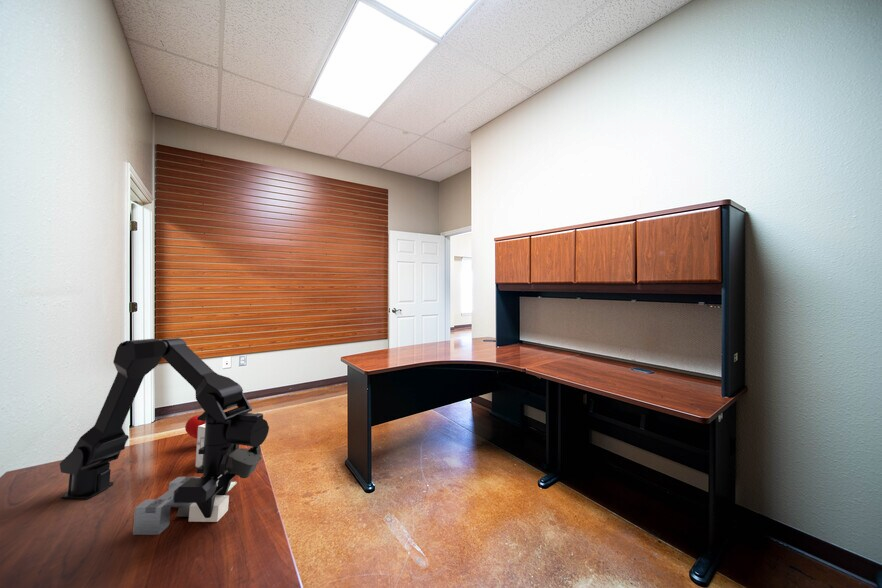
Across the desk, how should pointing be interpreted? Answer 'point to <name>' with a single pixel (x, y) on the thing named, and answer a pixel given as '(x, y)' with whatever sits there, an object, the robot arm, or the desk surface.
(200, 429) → the ink cartridge box
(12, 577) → the desk surface
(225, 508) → the plug
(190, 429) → the red rounded lobed piece
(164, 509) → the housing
